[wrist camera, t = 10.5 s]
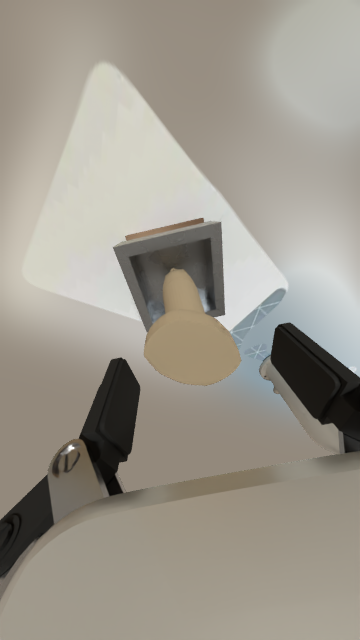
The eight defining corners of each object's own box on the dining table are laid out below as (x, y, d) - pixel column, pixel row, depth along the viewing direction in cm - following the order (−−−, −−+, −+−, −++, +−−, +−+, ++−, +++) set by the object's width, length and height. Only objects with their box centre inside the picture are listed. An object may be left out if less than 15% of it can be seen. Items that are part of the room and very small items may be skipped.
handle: (182, 302, 24) (203, 393, 12) (147, 277, 22) (128, 360, 9) (204, 279, 23) (255, 356, 10) (169, 248, 20) (182, 302, 7)
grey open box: (215, 300, 26) (224, 314, 22) (148, 315, 26) (146, 332, 22) (209, 221, 20) (221, 221, 16) (121, 241, 20) (112, 247, 16)
